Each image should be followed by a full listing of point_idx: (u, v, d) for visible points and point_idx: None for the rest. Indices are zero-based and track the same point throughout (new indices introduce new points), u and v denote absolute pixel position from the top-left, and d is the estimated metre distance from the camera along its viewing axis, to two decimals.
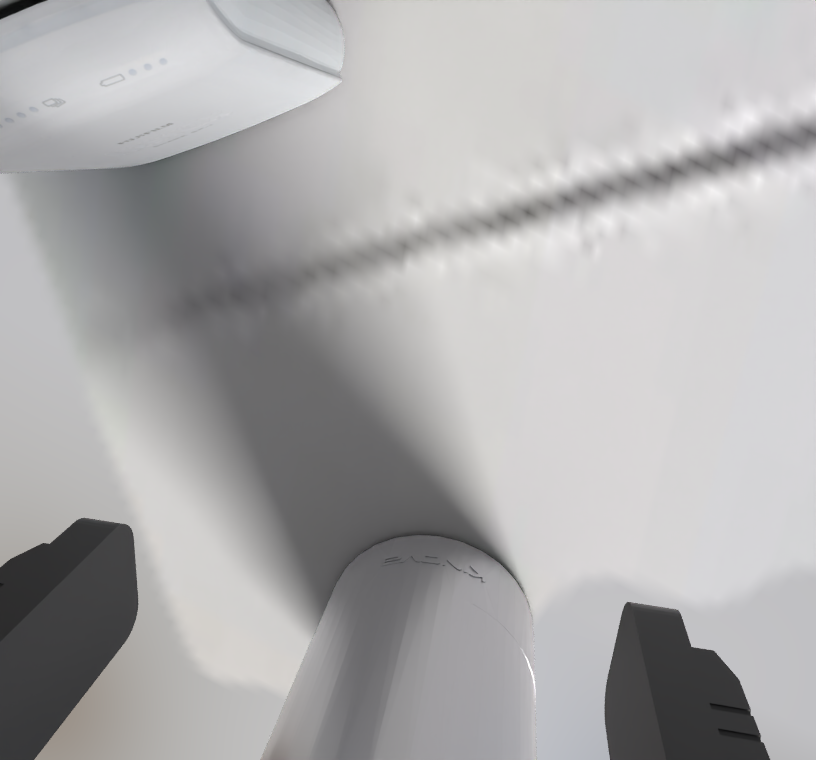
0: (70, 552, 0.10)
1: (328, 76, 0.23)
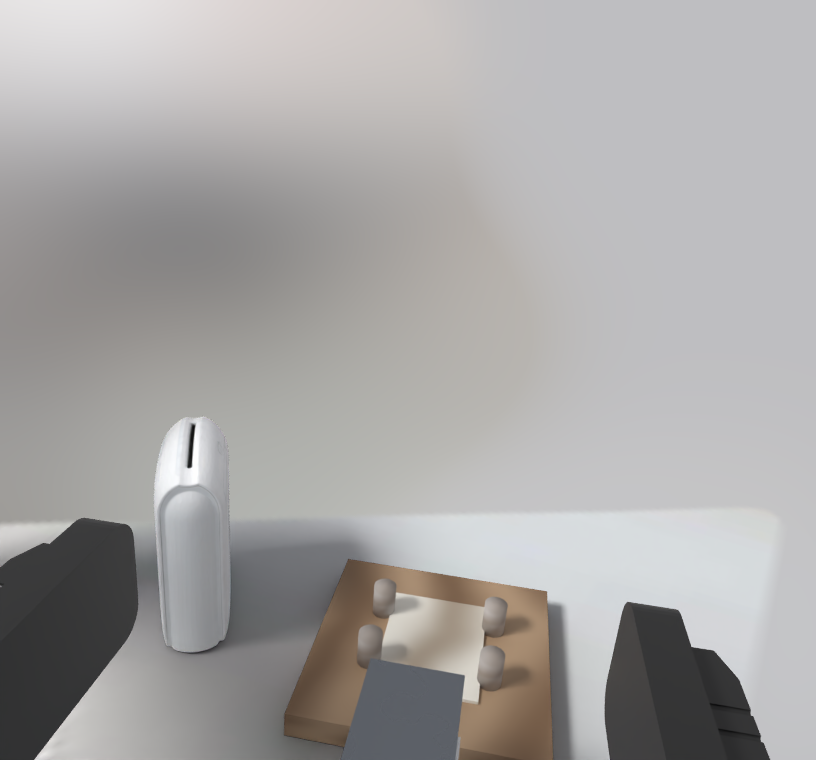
0: (70, 552, 0.10)
1: (163, 619, 0.41)
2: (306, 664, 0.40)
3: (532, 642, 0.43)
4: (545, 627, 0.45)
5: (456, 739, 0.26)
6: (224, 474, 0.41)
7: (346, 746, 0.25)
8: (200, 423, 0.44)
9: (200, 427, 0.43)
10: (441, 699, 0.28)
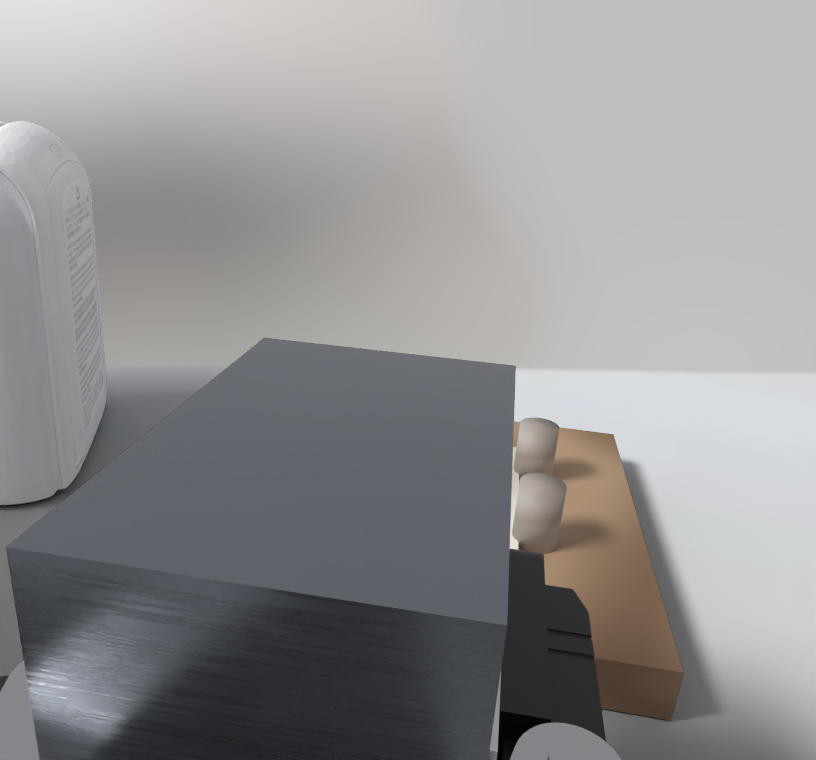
0: None
1: None
2: None
3: (601, 491, 0.25)
4: (620, 474, 0.26)
5: (508, 459, 0.08)
6: (54, 177, 0.23)
7: (117, 463, 0.07)
8: None
9: None
10: (453, 394, 0.09)
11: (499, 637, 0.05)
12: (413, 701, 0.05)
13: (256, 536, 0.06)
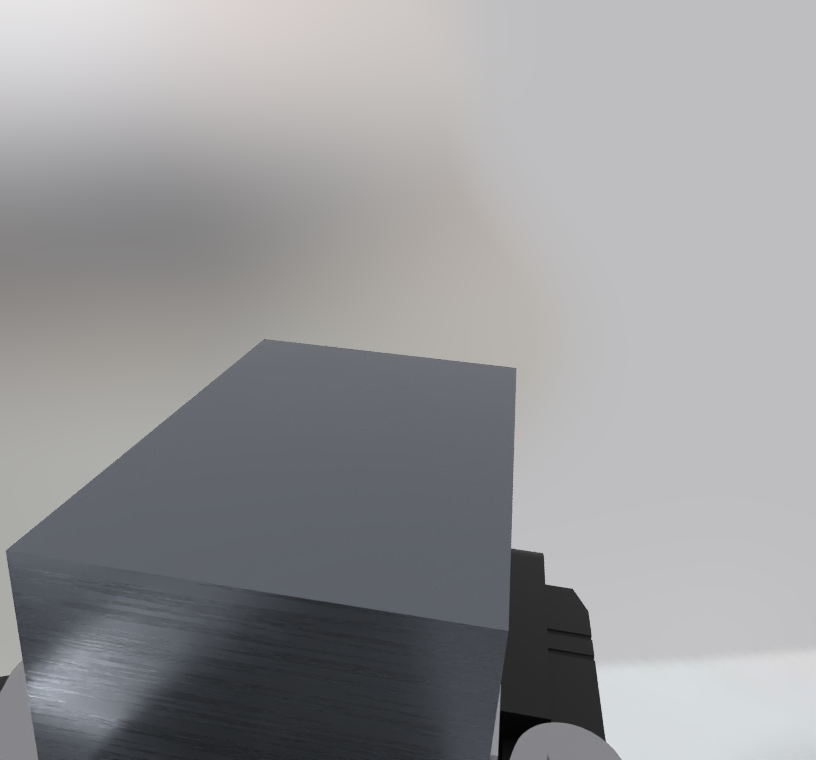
0: None
1: None
2: None
3: None
4: None
5: (509, 462, 0.08)
6: None
7: (117, 465, 0.07)
8: None
9: None
10: (454, 396, 0.09)
11: (500, 642, 0.05)
12: (413, 705, 0.05)
13: (257, 539, 0.06)
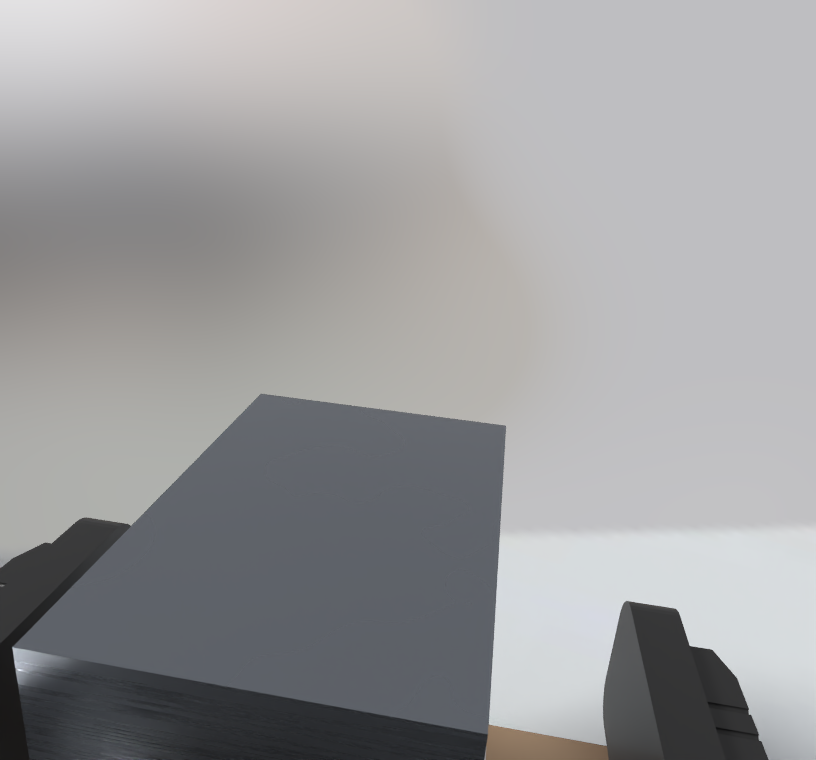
0: (72, 552, 0.10)
1: None
2: None
3: None
4: None
5: (495, 538, 0.08)
6: None
7: (118, 546, 0.07)
8: None
9: None
10: (444, 461, 0.10)
11: (481, 744, 0.05)
12: None
13: (251, 631, 0.06)
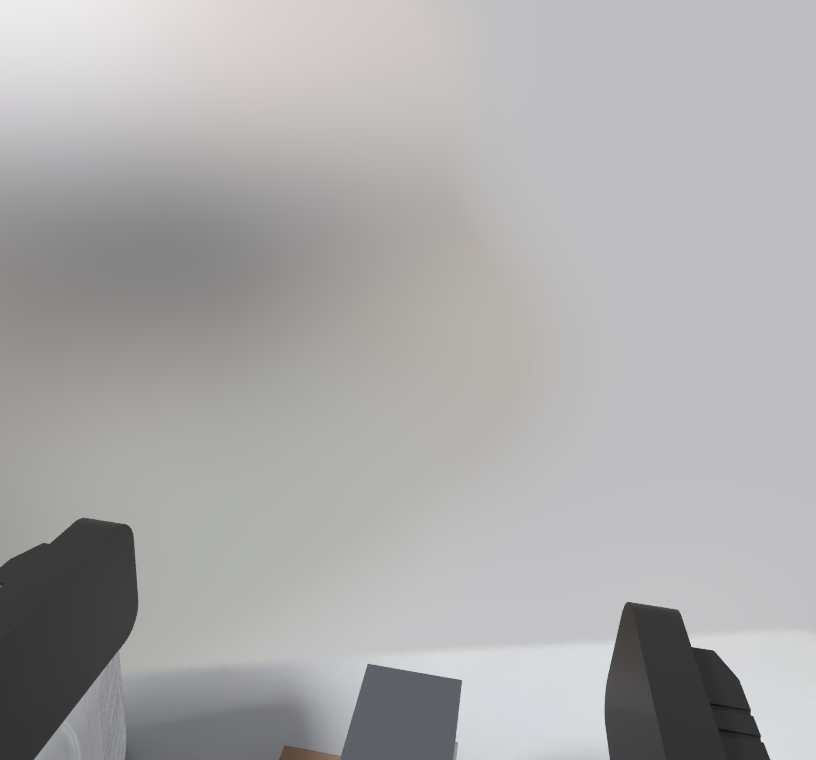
0: (70, 552, 0.10)
1: None
2: None
3: None
4: None
5: (453, 744, 0.26)
6: None
7: (344, 751, 0.25)
8: None
9: None
10: (438, 704, 0.28)
11: None
12: None
13: None
